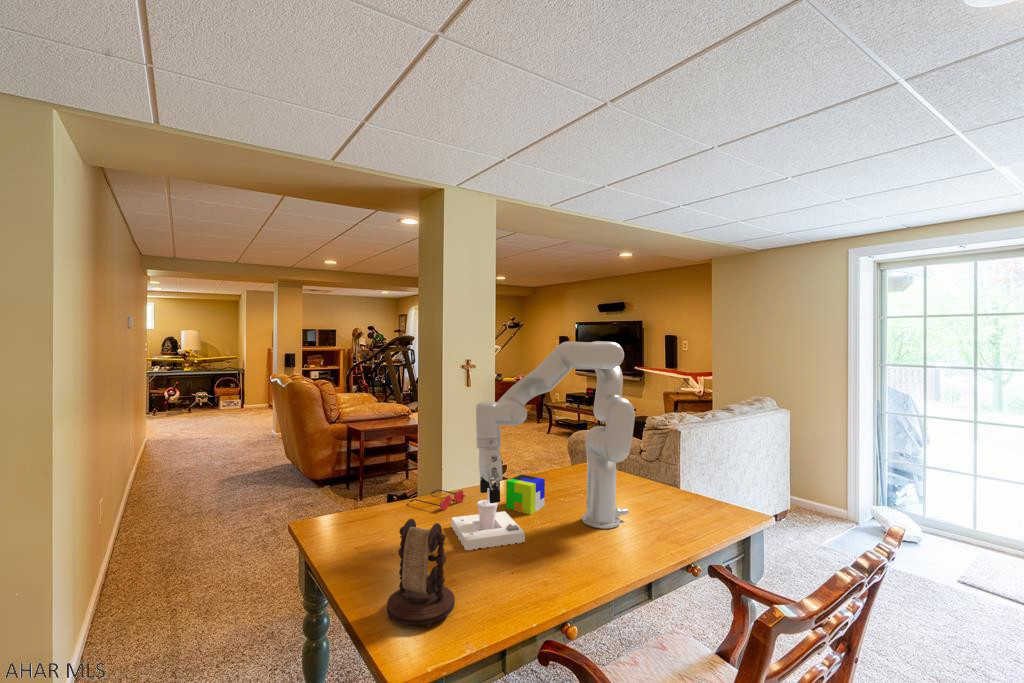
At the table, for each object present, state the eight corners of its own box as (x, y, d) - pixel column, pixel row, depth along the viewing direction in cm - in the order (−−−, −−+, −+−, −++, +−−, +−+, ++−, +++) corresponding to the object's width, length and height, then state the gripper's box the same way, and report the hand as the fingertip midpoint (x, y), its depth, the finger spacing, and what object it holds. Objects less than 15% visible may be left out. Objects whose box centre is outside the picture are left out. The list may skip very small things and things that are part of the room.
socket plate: (504, 520, 160) (504, 509, 160) (524, 542, 143) (524, 530, 143) (451, 526, 154) (451, 515, 154) (465, 550, 137) (466, 538, 137)
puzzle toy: (544, 506, 174) (544, 478, 173) (530, 515, 165) (530, 486, 165) (520, 501, 179) (521, 474, 179) (506, 509, 170) (506, 480, 170)
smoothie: (500, 531, 150) (500, 487, 150) (493, 539, 144) (493, 493, 144) (481, 528, 152) (481, 484, 152) (473, 536, 146) (474, 490, 146)
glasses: (442, 514, 165) (442, 499, 165) (406, 504, 174) (406, 491, 174) (465, 502, 177) (466, 488, 177) (431, 494, 186) (431, 481, 186)
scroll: (372, 622, 102) (373, 528, 102) (410, 588, 116) (412, 506, 116) (433, 638, 97) (434, 540, 97) (465, 601, 111) (467, 515, 110)
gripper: (509, 447, 141) (510, 504, 141) (491, 435, 157) (493, 487, 158) (485, 449, 139) (486, 508, 139) (469, 437, 155) (470, 490, 155)
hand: (490, 497), depth 148 cm, fingers open, 9 cm apart
